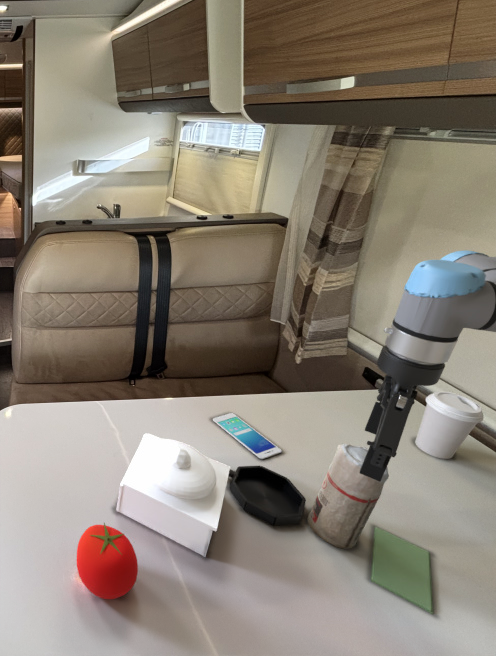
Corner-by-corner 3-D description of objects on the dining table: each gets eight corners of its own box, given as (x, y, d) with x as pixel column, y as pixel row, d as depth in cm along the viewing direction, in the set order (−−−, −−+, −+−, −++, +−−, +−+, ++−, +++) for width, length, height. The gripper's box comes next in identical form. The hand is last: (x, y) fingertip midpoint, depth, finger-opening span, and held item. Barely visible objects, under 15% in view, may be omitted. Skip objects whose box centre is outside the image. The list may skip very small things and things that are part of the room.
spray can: (316, 505, 92) (345, 433, 84) (363, 535, 85) (400, 460, 78) (298, 525, 87) (328, 451, 80) (347, 558, 81) (384, 481, 73)
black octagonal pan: (305, 497, 93) (309, 486, 92) (294, 539, 85) (299, 528, 83) (200, 447, 107) (203, 437, 106) (182, 479, 98) (184, 468, 97)
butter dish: (140, 459, 104) (148, 407, 98) (222, 495, 94) (237, 440, 88) (115, 512, 91) (123, 455, 85) (207, 561, 81) (224, 501, 75)
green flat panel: (428, 555, 81) (430, 551, 81) (431, 616, 72) (434, 612, 72) (373, 529, 87) (375, 525, 86) (370, 582, 77) (371, 579, 77)
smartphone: (232, 412, 118) (283, 450, 105) (231, 414, 118) (282, 453, 105) (211, 418, 115) (261, 459, 102) (210, 421, 116) (260, 461, 103)
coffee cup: (458, 472, 99) (486, 421, 94) (403, 449, 106) (426, 400, 100) (461, 451, 105) (487, 402, 99) (409, 430, 112) (431, 383, 106)
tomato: (138, 617, 72) (146, 575, 68) (75, 605, 74) (79, 564, 70) (129, 556, 82) (136, 517, 78) (73, 547, 84) (77, 508, 80)
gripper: (385, 318, 80) (351, 409, 88) (380, 379, 63) (338, 484, 71) (442, 331, 75) (400, 426, 83) (452, 401, 58) (399, 511, 66)
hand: (371, 453), depth 77 cm, fingers open, 13 cm apart
